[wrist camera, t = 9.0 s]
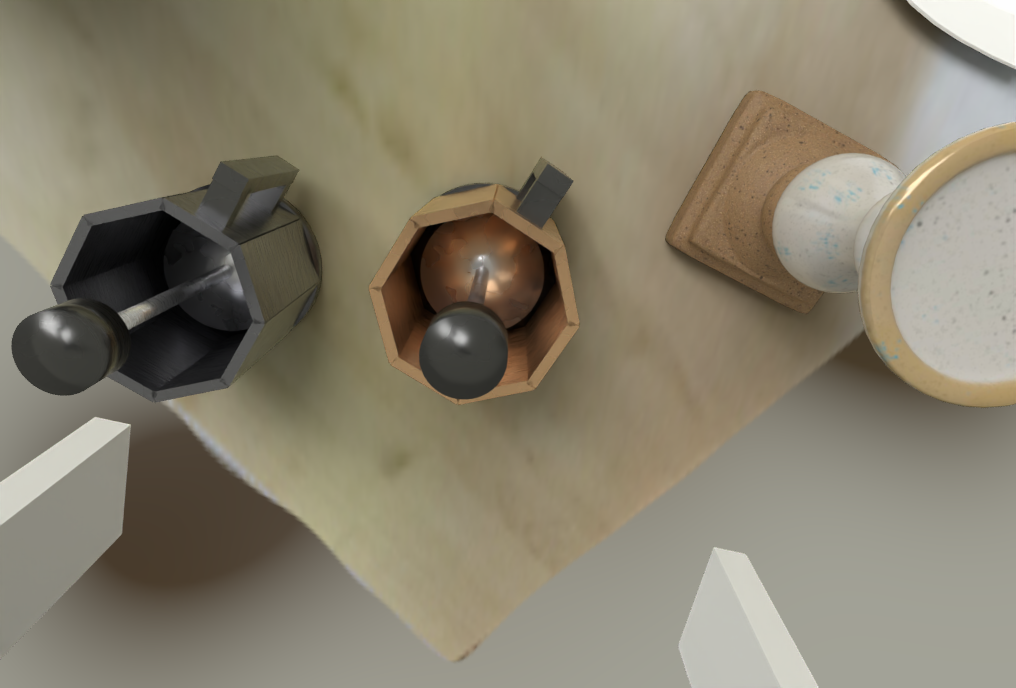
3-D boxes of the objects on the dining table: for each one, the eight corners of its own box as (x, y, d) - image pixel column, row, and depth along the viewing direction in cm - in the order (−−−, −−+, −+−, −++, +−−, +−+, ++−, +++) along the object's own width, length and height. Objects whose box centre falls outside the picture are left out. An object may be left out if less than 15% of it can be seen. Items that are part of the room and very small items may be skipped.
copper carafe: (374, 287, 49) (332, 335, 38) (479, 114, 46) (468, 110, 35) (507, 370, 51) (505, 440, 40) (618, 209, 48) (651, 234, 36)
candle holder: (797, 311, 50) (1040, 467, 27) (661, 240, 48) (793, 340, 25) (890, 166, 47) (1250, 202, 24) (748, 87, 45) (985, 44, 23)
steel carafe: (135, 286, 49) (20, 333, 38) (222, 113, 46) (125, 108, 35) (275, 368, 51) (206, 437, 40) (370, 207, 48) (324, 232, 36)
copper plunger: (399, 288, 47) (329, 384, 29) (463, 184, 45) (430, 220, 27) (501, 351, 48) (493, 481, 30) (567, 253, 46) (600, 330, 29)
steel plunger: (149, 286, 47) (-72, 380, 30) (202, 183, 45) (-1, 217, 28) (256, 349, 48) (106, 476, 31) (312, 251, 47) (187, 326, 29)
